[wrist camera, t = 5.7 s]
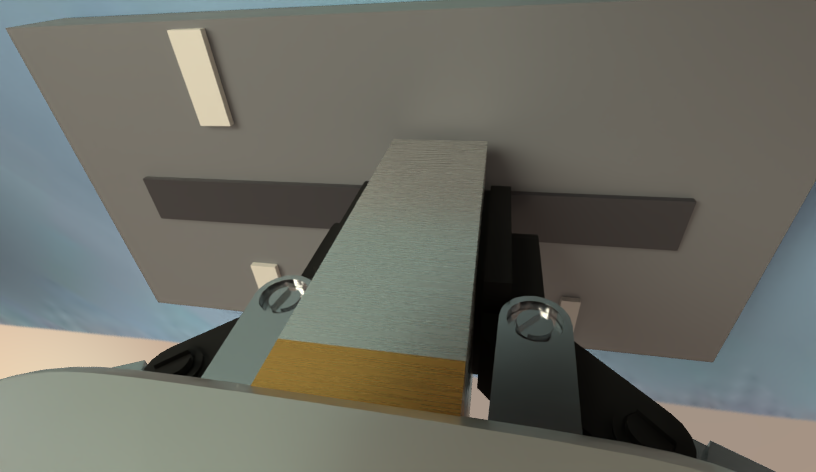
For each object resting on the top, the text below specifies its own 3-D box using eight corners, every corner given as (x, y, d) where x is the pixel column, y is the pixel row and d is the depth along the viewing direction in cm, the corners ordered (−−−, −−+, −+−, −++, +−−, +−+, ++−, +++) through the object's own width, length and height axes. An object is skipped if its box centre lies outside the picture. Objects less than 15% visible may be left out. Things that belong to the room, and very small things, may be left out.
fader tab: (487, 141, 11) (459, 422, 4) (479, 286, 13) (456, 581, 7) (393, 139, 11) (247, 390, 5) (405, 279, 14) (322, 552, 8)
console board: (853, -20, 9) (933, -12, 8) (691, 319, 16) (715, 366, 14) (64, 18, 14) (-2, 29, 12) (186, 273, 20) (154, 305, 18)
